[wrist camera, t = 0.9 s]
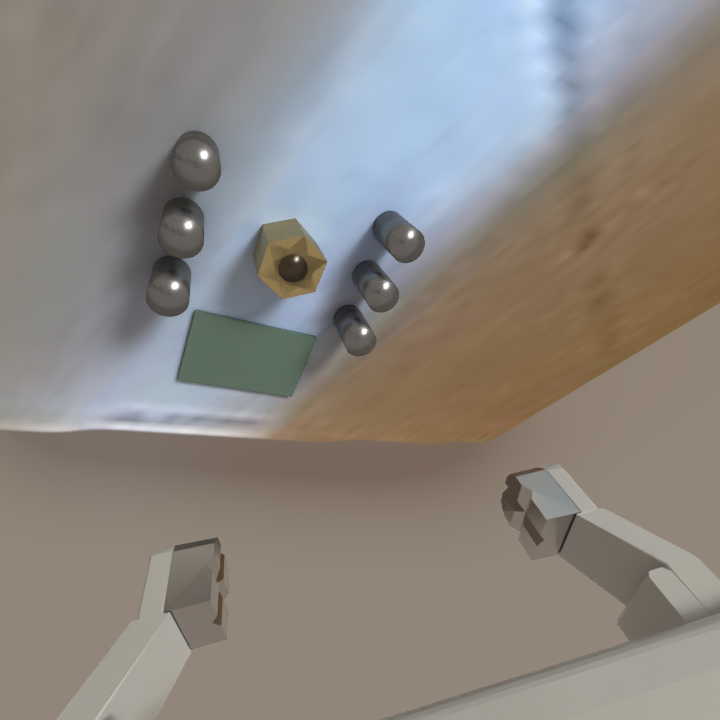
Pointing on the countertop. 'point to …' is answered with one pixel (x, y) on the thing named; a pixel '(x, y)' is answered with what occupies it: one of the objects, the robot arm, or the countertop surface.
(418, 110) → the countertop surface
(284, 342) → the rubber mat
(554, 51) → the countertop surface
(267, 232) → the brass nut
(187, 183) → the spacer rows
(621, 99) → the countertop surface
